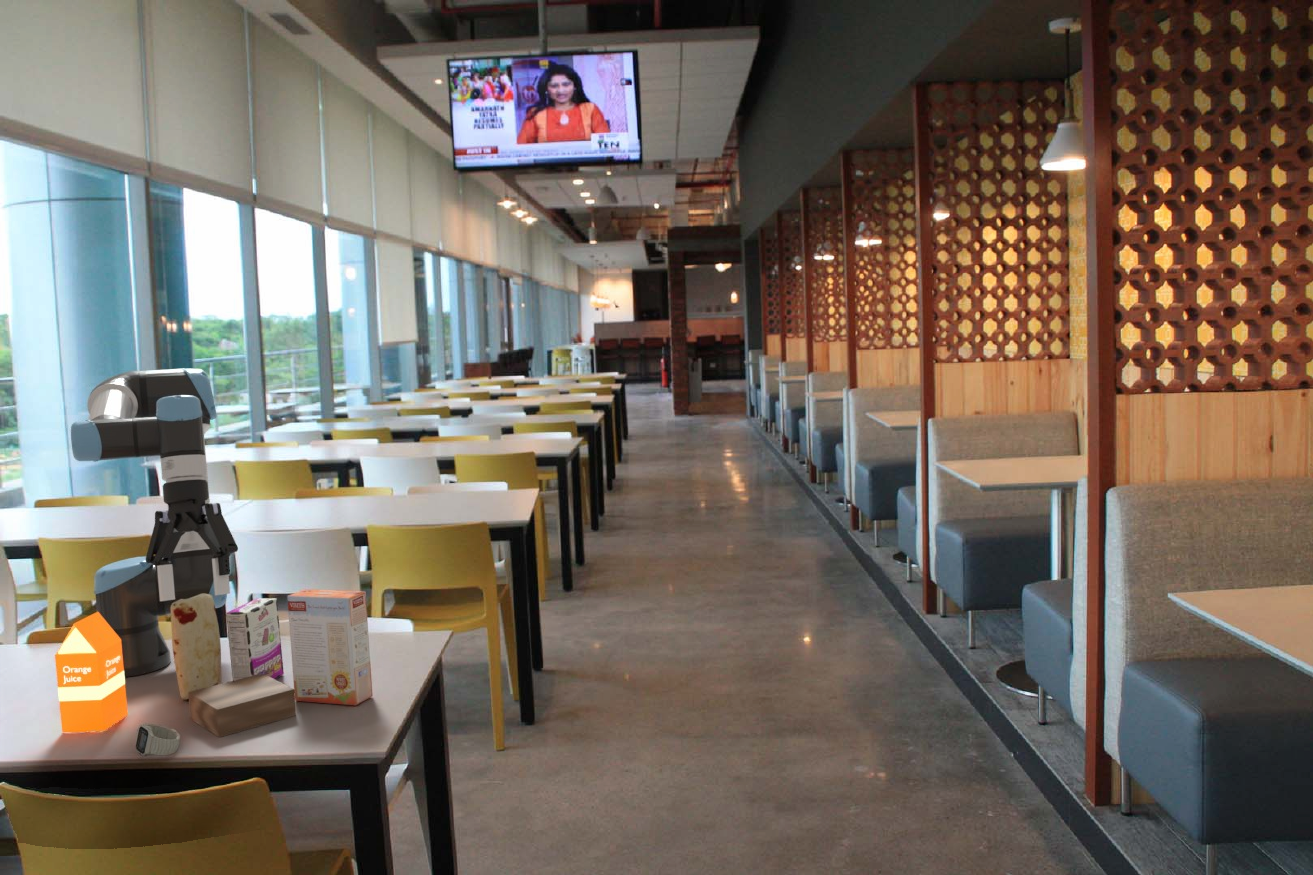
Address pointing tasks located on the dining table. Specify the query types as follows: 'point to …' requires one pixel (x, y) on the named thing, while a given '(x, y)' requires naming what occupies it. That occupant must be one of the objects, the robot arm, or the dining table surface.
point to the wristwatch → (156, 740)
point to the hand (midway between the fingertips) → (194, 597)
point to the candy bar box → (255, 639)
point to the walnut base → (241, 704)
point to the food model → (196, 643)
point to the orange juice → (91, 677)
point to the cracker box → (330, 646)
